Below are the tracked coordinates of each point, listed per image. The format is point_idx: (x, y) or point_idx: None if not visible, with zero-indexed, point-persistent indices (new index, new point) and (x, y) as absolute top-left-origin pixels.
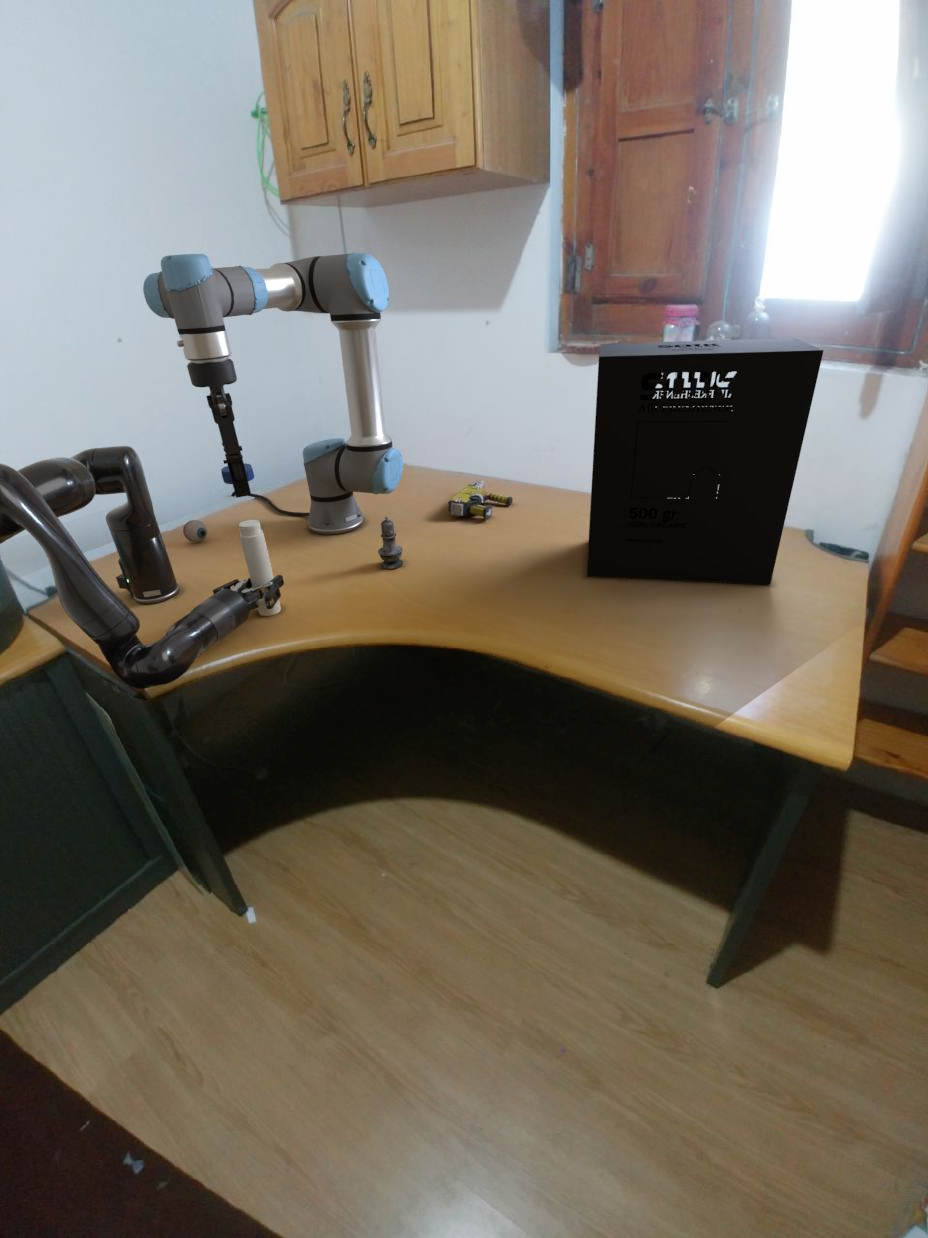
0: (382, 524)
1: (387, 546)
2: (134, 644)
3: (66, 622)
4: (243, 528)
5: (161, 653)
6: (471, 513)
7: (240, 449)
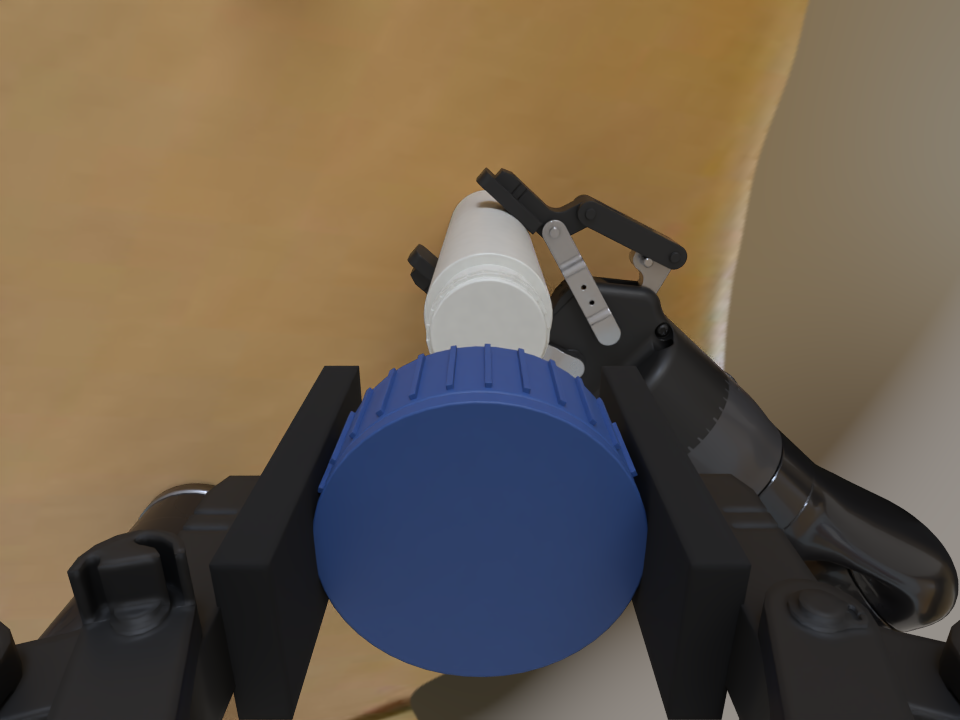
0: None
1: None
2: None
3: (294, 714)
4: None
5: (951, 585)
6: None
7: (189, 570)
